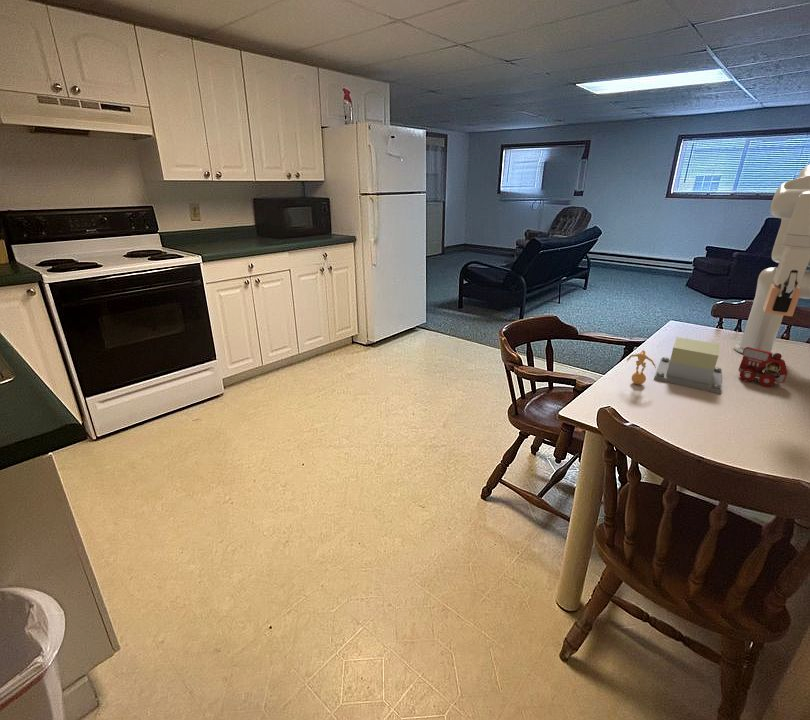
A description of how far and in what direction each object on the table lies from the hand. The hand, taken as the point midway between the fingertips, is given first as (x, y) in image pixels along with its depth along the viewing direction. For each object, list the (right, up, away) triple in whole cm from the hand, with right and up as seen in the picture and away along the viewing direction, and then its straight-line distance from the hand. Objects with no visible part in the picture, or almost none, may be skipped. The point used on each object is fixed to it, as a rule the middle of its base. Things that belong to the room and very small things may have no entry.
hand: (778, 307), depth 121 cm
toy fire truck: (+11, -21, +21) cm, 32 cm away
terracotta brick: (0, -1, 0) cm, 1 cm away
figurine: (-30, -23, +17) cm, 42 cm away
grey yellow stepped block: (-10, -20, +23) cm, 32 cm away
